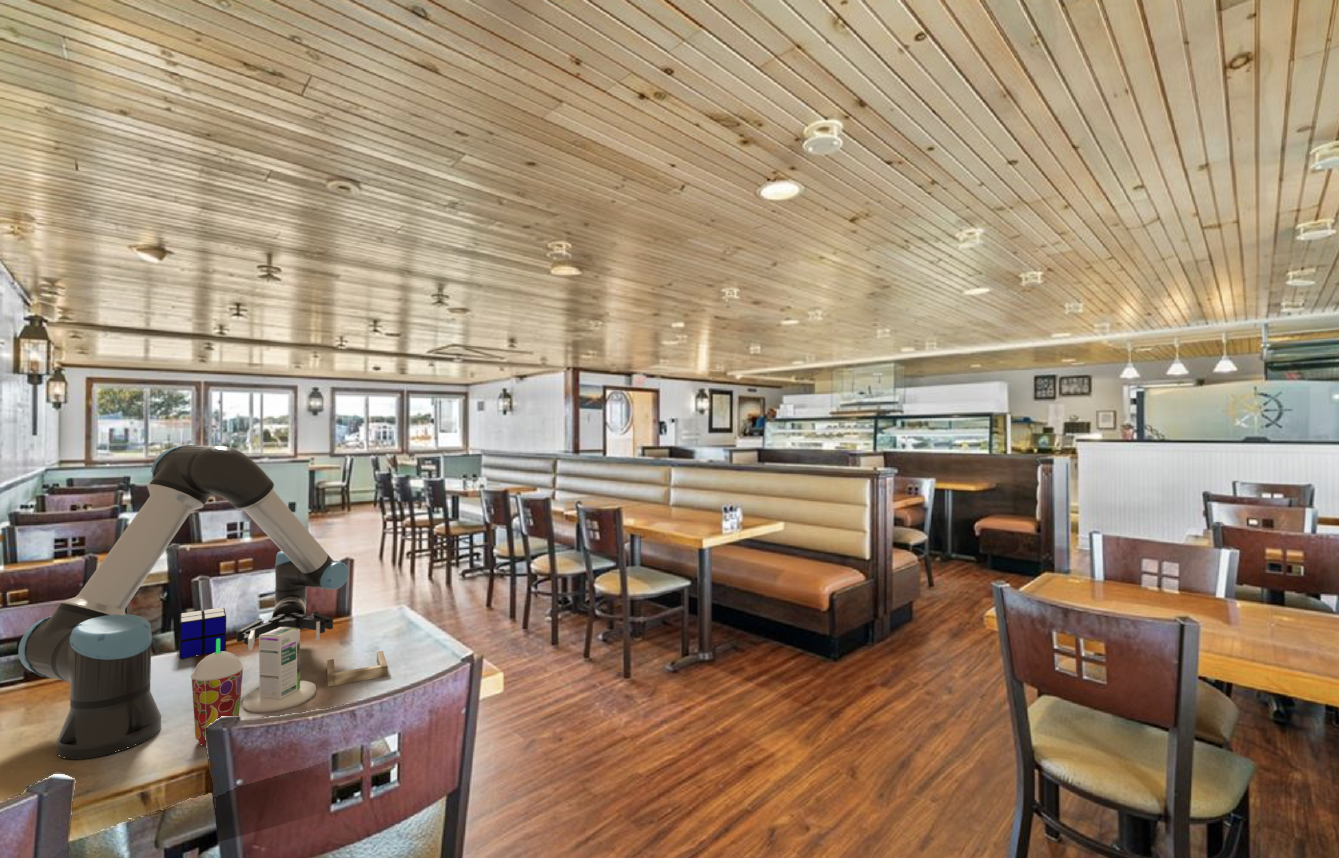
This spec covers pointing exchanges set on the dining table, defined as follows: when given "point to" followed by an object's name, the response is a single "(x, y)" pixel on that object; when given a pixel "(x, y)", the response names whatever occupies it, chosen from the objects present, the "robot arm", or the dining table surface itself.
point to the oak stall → (357, 672)
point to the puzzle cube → (202, 632)
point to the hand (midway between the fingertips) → (284, 639)
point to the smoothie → (216, 689)
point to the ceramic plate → (269, 705)
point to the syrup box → (279, 662)
